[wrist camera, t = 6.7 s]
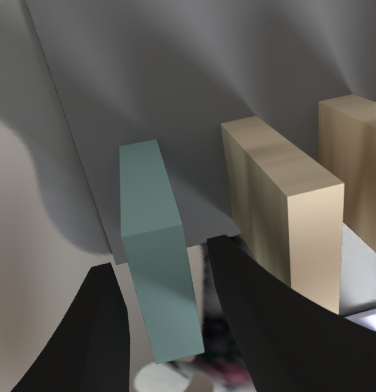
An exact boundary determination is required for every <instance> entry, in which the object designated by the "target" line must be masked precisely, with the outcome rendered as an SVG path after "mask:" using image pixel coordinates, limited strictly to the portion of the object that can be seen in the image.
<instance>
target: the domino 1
mask: <svg viewBox="0 0 376 392" xmlns="http://www.w3.org/2000/svg"><path fill="white" fill-rule="evenodd" d="M119 150H120V207H121V239H122V243H123V246H124V250H125V254H126V257H127V261H128V264H129V268H130V271H131V275H132V279H133V282H134V286H135V290H136V293H137V297H138V301H139V304H140V307H141V311H142V315H143V319H144V322H145V326H146V329H147V333H148V337H149V340H150V344H151V347H152V351H153V355H154V358H155V362H156V364H159V363H163V362H168V361H172V360H176V359H180V358H183V357H188V356H192V355H196V354H200V353H204V346H203V340H202V334H201V329H200V323H199V317H198V311H197V306H196V300H195V294H194V288H193V282H192V277H191V271H190V265H189V260H188V254H187V248H186V242H185V236H184V230H183V225H182V221H181V218H180V215H179V211H178V208H177V205H176V202H175V198H174V195H173V192H172V188H171V185H170V182H169V179H168V175H167V172H166V169H165V165H164V162H163V159H162V156H161V152H160V149H159V146H158V143H157V139H155V140H150V141H144V142H139V143H134V144H129V145H123V146H119Z"/></svg>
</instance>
